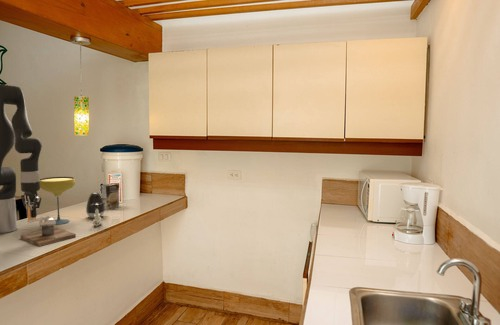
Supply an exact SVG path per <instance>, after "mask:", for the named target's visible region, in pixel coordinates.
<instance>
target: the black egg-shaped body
mask: <svg viewBox="0 0 500 325" xmlns="http://www.w3.org/2000/svg"><path fill="white" fill-rule="evenodd" d="M93 203H103V200H102V195H101V194H100V193H99V192H96V191H95V192H92V193H90V195H89V197H88V199H87V203H86V207H85V208H86V211H85V212H86V214H87V216H88V217H89V218H91V219H95V217H94V215H95V214H96V213H95V210H96V209H95V208H94V207H91V206H90V204H93ZM98 210H99V214H100V218H102V216H103V215H104V213H105V211H106V209H105V208H104V203H103V206H102V205H101V207H99V209H98Z"/></svg>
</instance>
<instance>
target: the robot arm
mask: <svg viewBox="0 0 500 325" xmlns="http://www.w3.org/2000/svg"><path fill="white" fill-rule="evenodd" d="M5 105H11V106H14V105H15V106H16V110H15V113H14V114H13V115H12V118H11V120H9V118H8V115H7V113H6V111H5V110H6V109H5ZM29 121H30V120H29V119H28V112H27V107H26V101H25V95H24V92H23V90H22V88H21V87H19V86H15V85H8V84H7V85H6V84H2V83H1V84H0V186H2V187H1V189H0V234H4V233H5V234H6V233H10V232H11V233H12V232H14V231H16V230H18V225H17V224H18V223H17V222H18V221H17V204H16V192H17V173H16V171H15V169H14V168H13V167H11V166H4V167H3V162H4V161H5V158H6V156H8V154H9V153H10V152H11V151H12V149H13V147H14V149H15V151H16V152H17V153H19V154H30V156H28V157H26V158H22V159H20V191H21V192H23V194H21V195H20V198H21V201H22V204H23V207H24V208H25V209H26V215H27V217H28V206H30V208H31V217H32V218H34V217H38V216H37V210H38V209H39V208H40V206H41V202H42V197H40V196H39V195H38V191H40V190H41V188H40V179H41V178H40V172H39V158H40V154H41V151H42V148H43V146H42V141H41V140H40V138H38V137H31V136H32V135H33V130H32V127H31V124H30V122H29Z"/></svg>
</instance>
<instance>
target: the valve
mask: <svg viewBox="0 0 500 325" xmlns="http://www.w3.org/2000/svg"><path fill="white" fill-rule="evenodd" d="M101 205H102V206H103V203H93V204H90V206H91V207H94V208H95V209H96V210H95V213H96V214H95V215H94V217H95V218H93V223H92V224H93V226H95V227H98V226H100V225H101V223H102V217H100V214H99V210H98V209H99V207H101Z"/></svg>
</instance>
